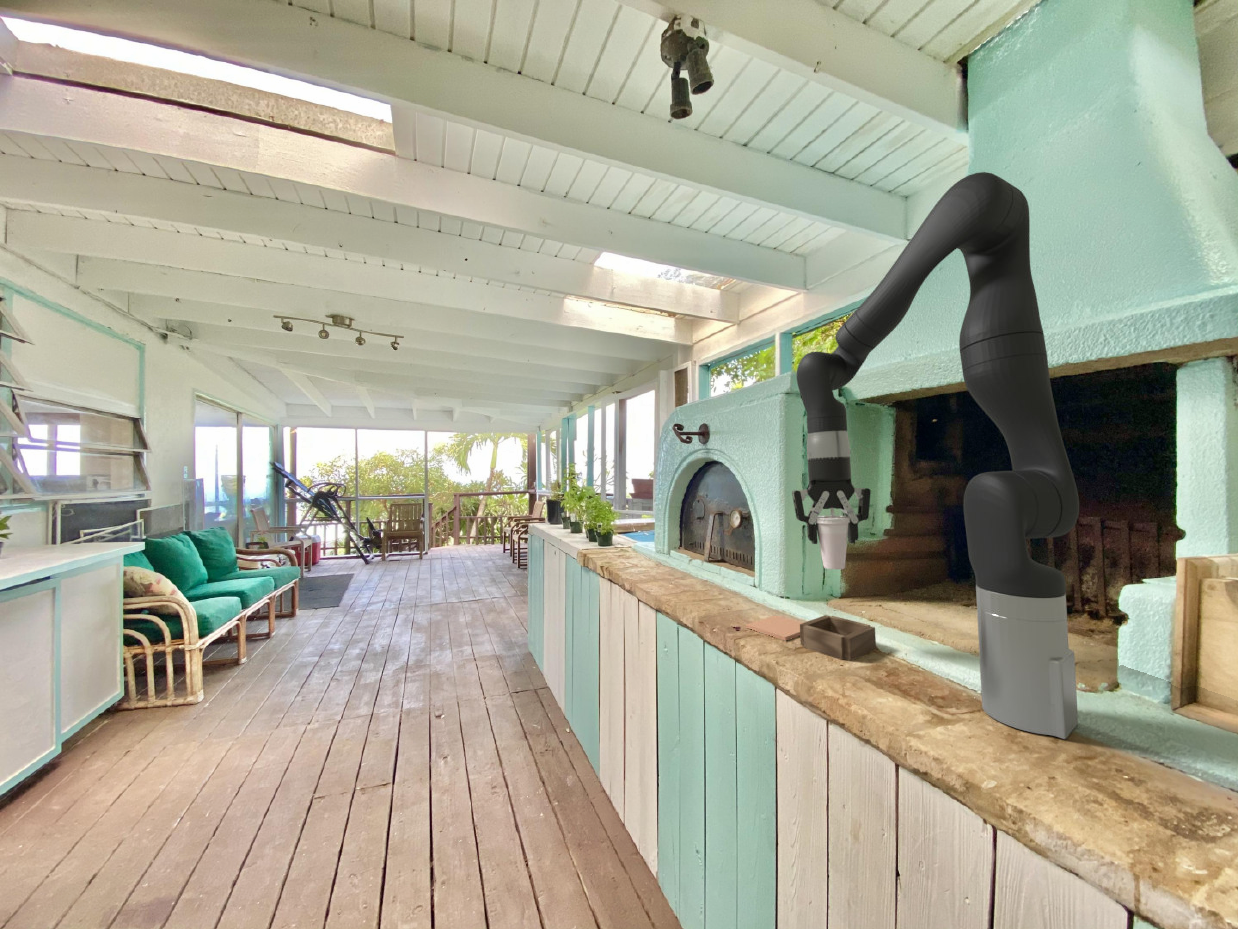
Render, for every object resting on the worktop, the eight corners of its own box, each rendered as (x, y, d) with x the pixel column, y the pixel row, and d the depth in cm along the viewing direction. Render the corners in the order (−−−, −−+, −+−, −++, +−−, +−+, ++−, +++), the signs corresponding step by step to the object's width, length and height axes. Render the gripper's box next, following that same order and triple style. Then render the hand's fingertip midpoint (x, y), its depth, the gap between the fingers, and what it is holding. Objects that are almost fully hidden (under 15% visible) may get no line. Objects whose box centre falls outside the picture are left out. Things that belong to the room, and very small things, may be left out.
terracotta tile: (815, 630, 98) (814, 626, 98) (785, 641, 92) (785, 637, 92) (775, 618, 106) (775, 615, 106) (746, 628, 101) (746, 624, 101)
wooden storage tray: (877, 648, 87) (876, 626, 87) (848, 662, 82) (847, 639, 82) (828, 633, 96) (827, 614, 96) (798, 645, 90) (797, 625, 90)
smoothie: (858, 566, 89) (853, 493, 89) (845, 572, 84) (841, 495, 84) (824, 563, 93) (820, 493, 93) (810, 568, 89) (806, 495, 89)
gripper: (862, 455, 91) (866, 539, 91) (786, 458, 94) (790, 540, 94) (875, 453, 84) (880, 545, 84) (792, 457, 87) (797, 546, 86)
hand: (832, 542), depth 89 cm, fingers closed on smoothie, 6 cm apart
